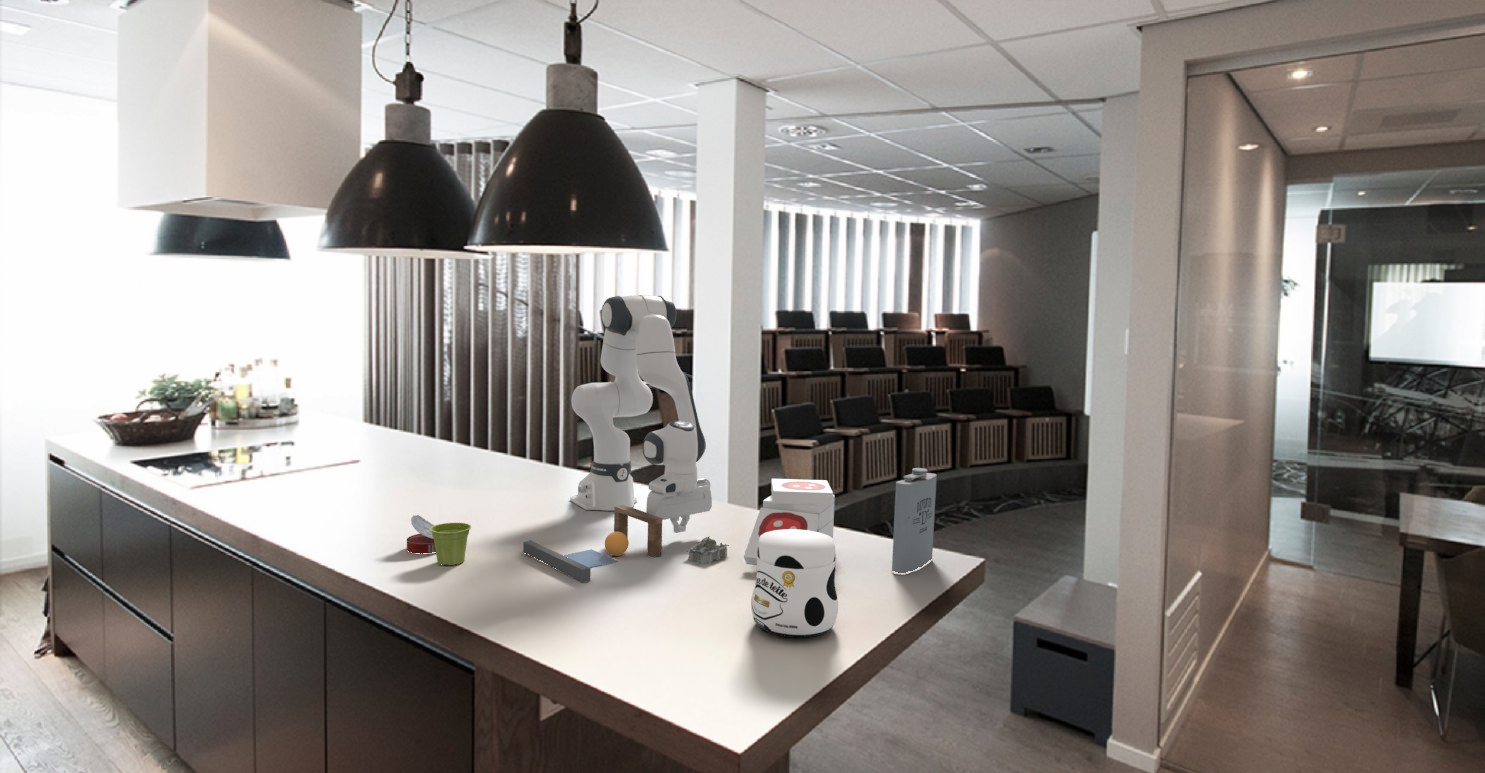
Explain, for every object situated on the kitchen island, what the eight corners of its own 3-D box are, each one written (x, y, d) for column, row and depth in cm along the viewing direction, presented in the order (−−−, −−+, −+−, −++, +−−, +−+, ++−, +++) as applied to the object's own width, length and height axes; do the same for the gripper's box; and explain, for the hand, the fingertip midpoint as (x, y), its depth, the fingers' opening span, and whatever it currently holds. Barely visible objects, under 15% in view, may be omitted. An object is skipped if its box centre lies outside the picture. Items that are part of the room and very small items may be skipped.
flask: (906, 577, 196) (912, 474, 193) (889, 572, 199) (894, 471, 196) (937, 560, 210) (942, 464, 207) (920, 556, 212) (925, 462, 210)
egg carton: (708, 550, 214) (709, 535, 213) (732, 556, 209) (732, 540, 209) (683, 559, 205) (683, 543, 205) (706, 565, 201) (707, 549, 200)
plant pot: (422, 561, 197) (422, 526, 196) (459, 553, 203) (459, 519, 203) (441, 571, 190) (441, 534, 189) (478, 562, 197) (478, 527, 196)
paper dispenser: (735, 571, 197) (738, 497, 195) (775, 539, 225) (777, 474, 223) (812, 582, 190) (815, 506, 188) (843, 548, 218) (846, 482, 216)
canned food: (427, 560, 212) (440, 523, 216) (450, 564, 206) (463, 526, 210) (389, 549, 204) (404, 511, 207) (413, 553, 198) (427, 513, 202)
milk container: (737, 635, 158) (740, 545, 156) (767, 606, 174) (769, 523, 172) (824, 651, 152) (828, 557, 150) (846, 619, 168) (850, 534, 166)
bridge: (652, 557, 205) (652, 519, 204) (613, 542, 217) (614, 506, 216) (661, 555, 207) (662, 517, 206) (623, 540, 219) (623, 504, 219)
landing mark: (550, 558, 202) (550, 557, 202) (591, 549, 210) (591, 549, 210) (575, 571, 193) (575, 570, 193) (618, 561, 201) (618, 560, 201)
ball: (618, 547, 211) (600, 554, 206) (618, 525, 209) (599, 532, 205) (633, 554, 207) (614, 561, 202) (633, 532, 205) (614, 539, 201)
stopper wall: (523, 553, 205) (523, 541, 205) (530, 551, 207) (530, 540, 207) (582, 582, 185) (582, 569, 185) (590, 580, 186) (590, 568, 186)
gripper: (702, 475, 230) (701, 523, 231) (643, 484, 216) (642, 535, 217) (717, 479, 225) (716, 528, 226) (657, 488, 211) (656, 540, 212)
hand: (679, 531), depth 222 cm, fingers closed
